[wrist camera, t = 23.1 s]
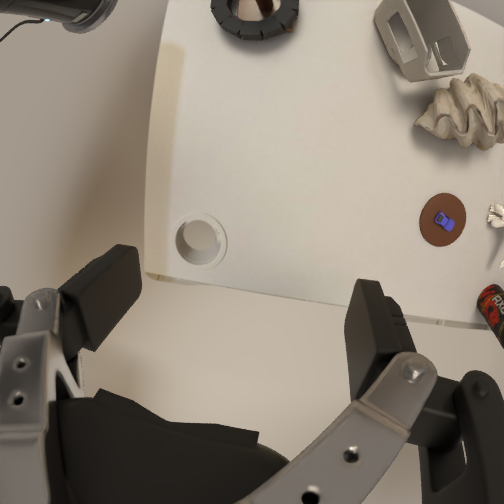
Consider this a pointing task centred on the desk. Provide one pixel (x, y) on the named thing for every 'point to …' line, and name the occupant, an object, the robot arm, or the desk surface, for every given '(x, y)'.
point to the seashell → (467, 113)
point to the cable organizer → (425, 37)
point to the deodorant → (493, 309)
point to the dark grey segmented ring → (255, 29)
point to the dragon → (497, 221)
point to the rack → (258, 10)
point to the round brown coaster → (442, 219)
